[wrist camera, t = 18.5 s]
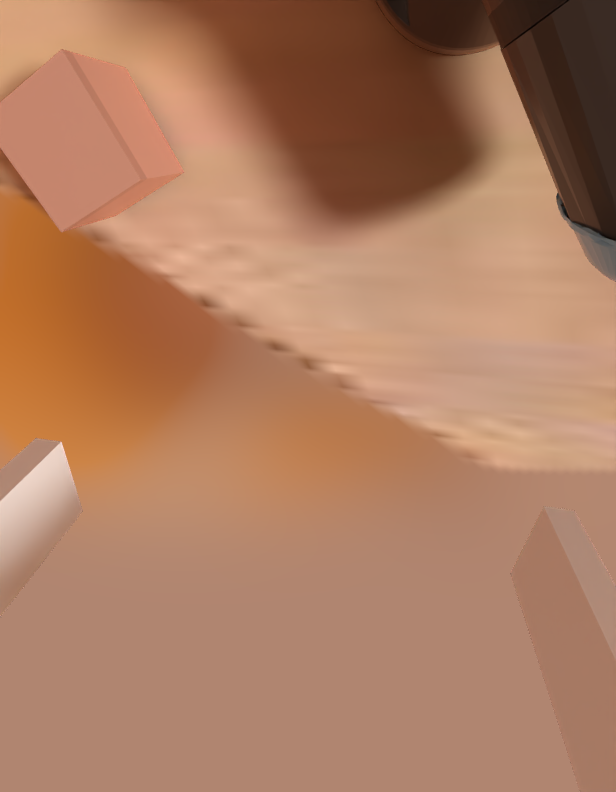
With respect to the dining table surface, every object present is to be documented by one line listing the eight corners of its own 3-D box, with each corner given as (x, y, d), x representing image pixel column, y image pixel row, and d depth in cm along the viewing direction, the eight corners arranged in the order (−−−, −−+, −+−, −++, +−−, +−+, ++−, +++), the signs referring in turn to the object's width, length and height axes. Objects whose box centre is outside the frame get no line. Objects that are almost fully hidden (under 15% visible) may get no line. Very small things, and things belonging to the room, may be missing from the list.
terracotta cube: (184, 172, 36) (141, 179, 29) (115, 215, 39) (61, 232, 32) (125, 67, 33) (61, 49, 26) (54, 123, 35) (-21, 119, 29)
